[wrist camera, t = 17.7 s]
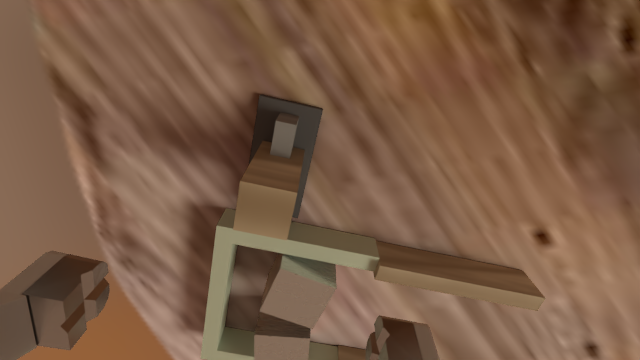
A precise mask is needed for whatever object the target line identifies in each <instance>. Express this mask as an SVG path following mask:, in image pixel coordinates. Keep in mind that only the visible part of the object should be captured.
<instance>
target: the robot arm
mask: <svg viewBox="0 0 640 360" xmlns="http://www.w3.org/2000/svg"><path fill="white" fill-rule="evenodd" d="M107 273H108V265H107V263H105V262H103V261H98V260H93V259H89V258H84V257H80V256H75V255H71V254H65V253H61V252H56V251H50V252H47V253H45V254H43V255H42V256H41V257H40V258H39V259H37V260H36V261H35V262H34V263H32V264H31V265H30V266H29V267H27V268H26V269H25V270H24V271H22V272H21V273H20V274H19V275H18V276H16V277H15V278H14V279H13V280H11V281H10V282H9V283H8V284H7V285H5V286H4V287H3V288H2V289H0V360H16V359H18V358H20V357H21V356H23V355H25V354H26V353H28V352H30V351H31V350H33V349H35V348H36V347H37V345H38V346H44V347H51V348H58V349H65V350H71V348H72V347H73V346H74V345H75V344H76V342H77V341H78V340H79V339H80V337H81V336H82V335H83V334H84V332H85V331H86V322H87V321H89V320H91V319H93V318H95V317H97V316H98V315H99V313H100V312H101V310H102V309H103V308H104V306H105V303H106V301H107V299H108V296H109V283H108V282H107V281H106V280H105V278H104V277H105V276H106V275H107ZM374 326H375V332H373V333H371V334H370V336H369V339H368V341H367V346H366V357H365V360H440V359H439V356H438V353H437V350H436V346H435V343H434V340H433V337H432V333H431V330H430V327H429V326H428V325H427V324H422V323H417V322H412V321H411V322H410V321H406V320H401V319H396V318H390V317H385V316H378V317H377V319H376V321H375V324H374Z"/></svg>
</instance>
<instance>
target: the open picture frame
mask: <svg viewBox="0 0 640 360" xmlns="http://www.w3.org/2000/svg"><path fill="white" fill-rule="evenodd" d="M235 213H236V210H233V209H228V208H226V209H225V211H224V213H223V215H222V217H221V218H220V220H219V222H218V224H217V226H216V234H215V242H214V251H213V259H212V267H211V275H210V284H209V292H208V300H207V308H206V317H205V325H204V333H203V341H202V350H201V359H207V360H254V334H255V332H252V331H246V330H241V329H235V328H230V327H225V323H226V316H227V310H228V303H229V297H230V290H231V284H232V277H233V271H234V264H235V258H236V251H237V245H241V246H246V247H251V248H256V249H261V250H267V251H272V252H277V253H282V254H287V255H292V256H297V257H302V258H307V259H313V260H318V261H323V262H328V263H333V264H338V265H343V266H348V267H354V268H359V269H364V270H369V271H374V272H375V269H376V266H377V264H378V261H379V258H380V257H379V253H378V249H377V245H376V240H375V238H371V237H366V236H361V235H356V234H351V233H346V232H341V231H336V230H331V229H327V228H322V227H317V226H312V225H307V224H302V223H297V222H292V221H291V224H290V229H289V233H288V238H287V240H282V239H277V238H272V237H267V236H262V235H257V234H252V233H246V232H241V231H236V230H233V227H234V220H235ZM308 360H338V347H337V346H331V345H326V344H320V343H314V342H310V344H309V355H308Z"/></svg>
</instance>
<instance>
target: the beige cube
mask: <svg viewBox="0 0 640 360" xmlns="http://www.w3.org/2000/svg"><path fill="white" fill-rule="evenodd" d="M310 329H311V328H308V327H305V326H302V325H299V324H296V323H293V322H290V321H287V320H284V319H281V318H278V317H275V316H272V315H269V314H266V313H263V312H260V313H259V317H258V321H257V326H256V330H255V334H254V360H308V355H309V344H310Z"/></svg>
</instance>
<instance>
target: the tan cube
mask: <svg viewBox="0 0 640 360" xmlns="http://www.w3.org/2000/svg"><path fill="white" fill-rule="evenodd" d="M335 290H336V267H335V264H333V263H328V262H323V261H318V260H313V259H307V258H302V257H297V256H292V255H287V254H282V253H278V254H277V256H276V258H275V261H274V263H273V265H272V267H271V269H270V271H269V273H268V277H267V281H266V285H265V289H264V294H263V298H262V302H261V307H260V312H263V313H266V314H269V315H272V316H275V317H278V318H281V319H284V320H287V321H290V322H293V323H296V324H299V325H302V326H305V327H308V328H311V329H313V328H314V326H315V324H316V323H317V321H318V319H319V317H320V316H321V314H322V312H323V311H324V309H325V307H326V306H327V304H328V302H329V300H330V299H331V297H332V295H333V294H334V292H335Z"/></svg>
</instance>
